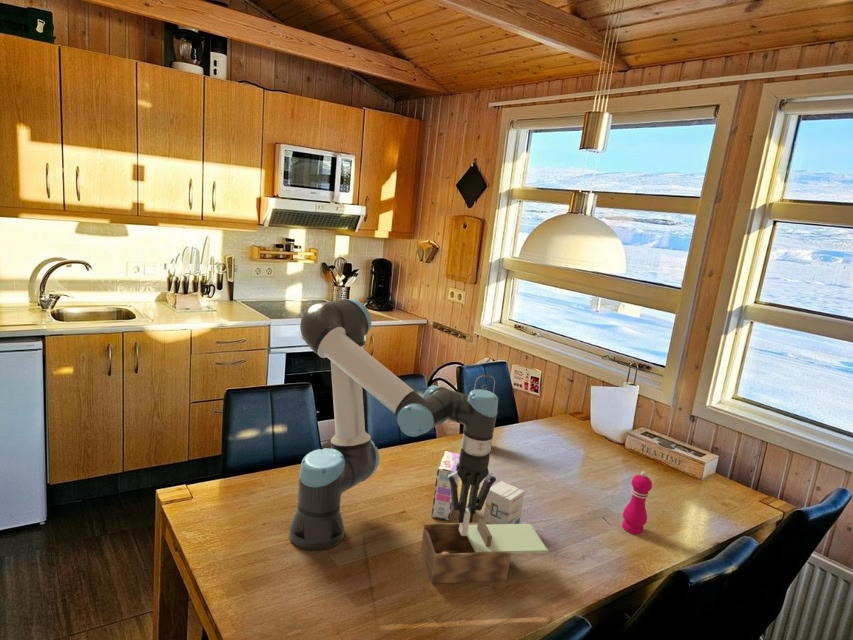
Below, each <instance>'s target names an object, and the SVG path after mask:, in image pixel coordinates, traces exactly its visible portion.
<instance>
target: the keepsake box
mask: <svg viewBox="0 0 853 640" xmlns="http://www.w3.org/2000/svg"><path fill="white" fill-rule="evenodd" d="M485 524H494V522H491V523H486V522H485ZM469 525H478V522H472V523H469ZM459 526H460V523H459V522H436V523H434V522H433V523H432V522H429V523H427V522H426V523H423V529H422V530H423V531H422V537H421V545H420V551H421V554H422V557H423V558H422V559H423V561H424V564H425V567H426V570H427V573H428V576H429V579H430V582H431V584H451V583H452V584H455V583H479V582H480V583H483V582H507V580H508V574H509V569H510V562H511V556H512V554H511V552H485V553H475V551H474V549H473V547H472V545H471V543H470V541H469V539H468V536H461V534H460V531H459ZM442 552H449V553H445V554H441V553H442Z"/></svg>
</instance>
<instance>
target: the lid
mask: <svg viewBox="0 0 853 640" xmlns="http://www.w3.org/2000/svg"><path fill="white" fill-rule="evenodd" d="M477 523H478V525H469V526H468V532H467V536H468V539H469V541H470V543H471V545H472V547H473V549H474V551H475V553H485V552H511V555H534V554H535V555H536V554H548V553H549V550H548V548H547V546H546V545H545V544H544V542H543V541H542V539H541V538H540V536H539V535H538V534H537V532H536V530H535V529H534V528H533V526H532V524H531V523H519V524H485V523H486V522H484V520H483V518H478V520H477Z"/></svg>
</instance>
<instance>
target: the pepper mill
mask: <svg viewBox="0 0 853 640" xmlns="http://www.w3.org/2000/svg"><path fill="white" fill-rule="evenodd" d="M631 487H632V488H631V492H630V493H631V499H630V500H629V502H628V504H627V505H626V506H625V508H624V509H623V513H622V518H623V520H622V524H621V526H622V529H623V528H624V529H623V530H624V531H625V530H626V531H625V532H627V533H628V532H629V534H631V533H632V534H631V535H635V534H639V535H642V534H643V532H644V525H646V523H647V520H648V513H647V510H646V500H647V498H649V492H650V491H651V490H652V489H653V488H652V487H653V483H652V479H650V477H648V473H647V472H646V471H644V470H643V471H641V472H640V474H637V475H636V474H635V475H634V476H633V477H632V479H631ZM641 533H642V534H641Z"/></svg>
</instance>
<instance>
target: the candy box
mask: <svg viewBox="0 0 853 640" xmlns="http://www.w3.org/2000/svg"><path fill="white" fill-rule="evenodd" d="M459 459H460V453H457V452H453V451H446V450H445V451H444V454H443V456H442V458H441V460H440V462H439V466H438V468H437V472H436V479H435V487H434V494H433V500H432V501H433V503H432V510H431V517H432V518H435V519H440V520H443V521H448V522H449V521H450V520H451V516H452V513H453V510H454V507H453V505H452V497H451V487H450V481H449V479H448V477H447V473H453V472H455V471H456V468H457V467H458V465H459ZM459 479H460V477H459V476H458V477H457V481H456V484H457V488H459V487H458V485H459V481H460V480H459Z"/></svg>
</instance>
